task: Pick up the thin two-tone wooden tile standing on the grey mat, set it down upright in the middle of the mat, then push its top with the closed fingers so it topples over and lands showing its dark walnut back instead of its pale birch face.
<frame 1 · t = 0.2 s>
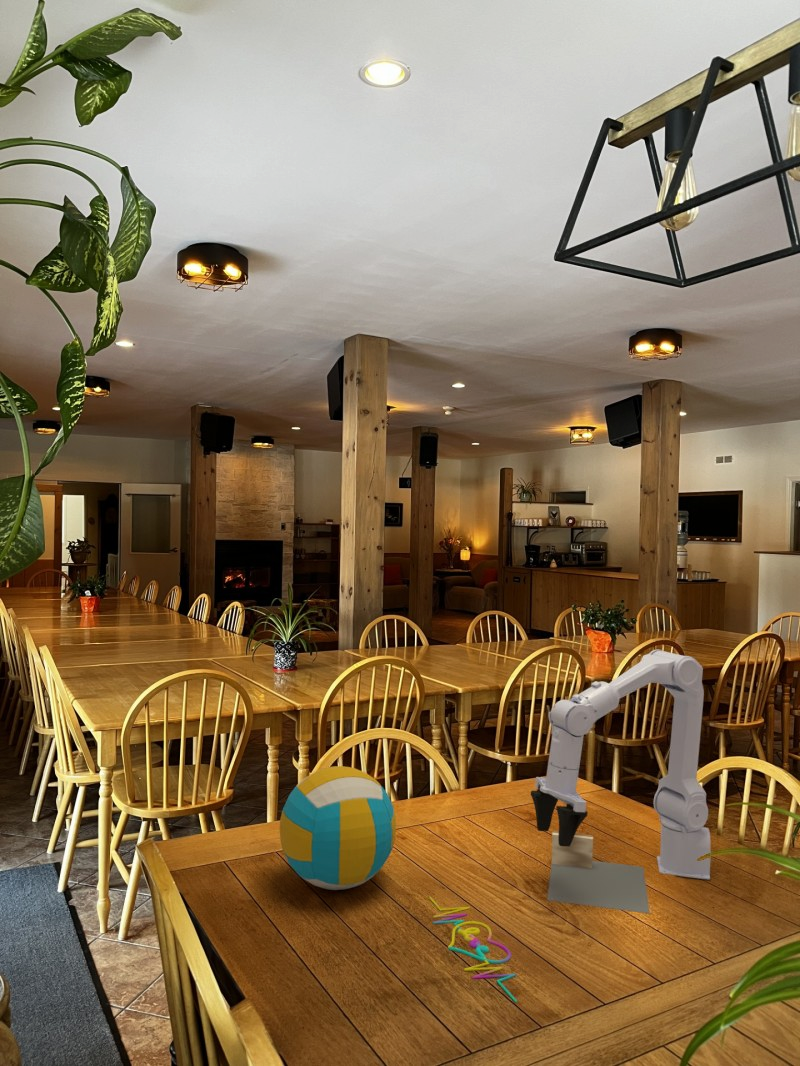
hand: (553, 837, 150), 10 cm above the table, tool pointing down, fingers open, 7 cm apart
tile: (571, 864, 162), resting on mat
mat: (597, 884, 154), on the table
decorative art: (472, 946, 132), on the table
volleyball: (337, 885, 152), on the table
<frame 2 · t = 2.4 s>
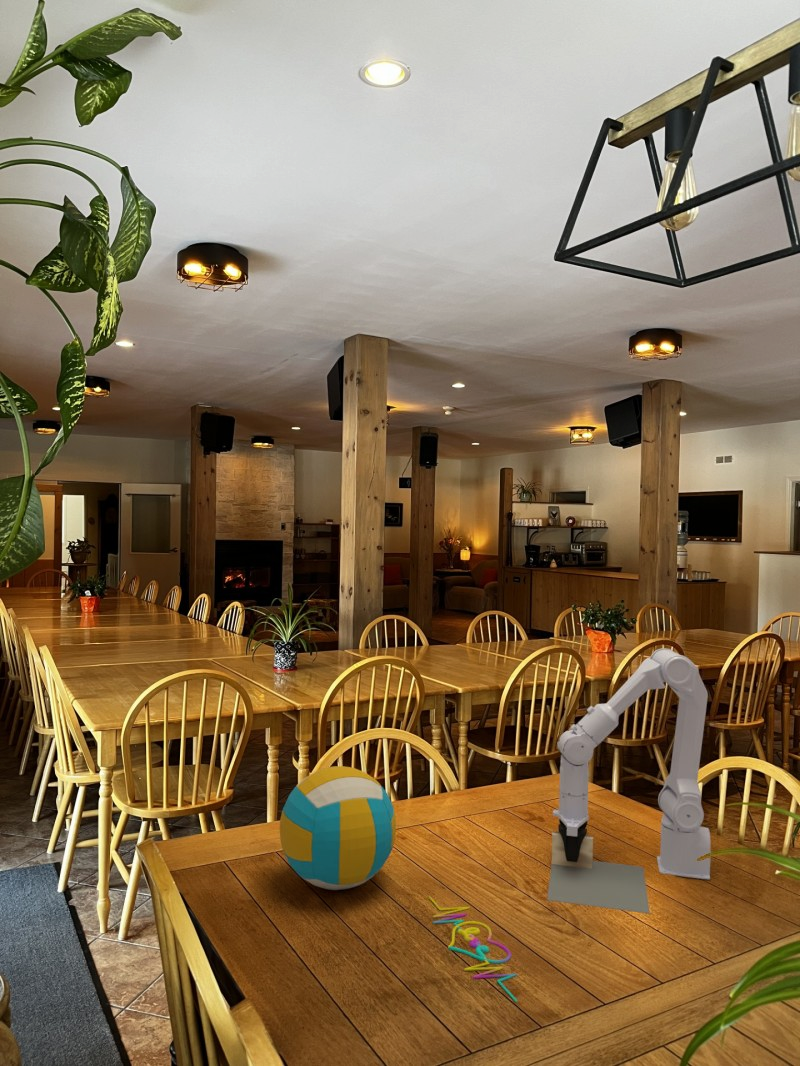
hand: (572, 858, 162), 2 cm above the table, tool pointing down, fingers closed on tile, 2 cm apart
tile: (571, 864, 162), resting on mat, touching gripper
everything else where it was.
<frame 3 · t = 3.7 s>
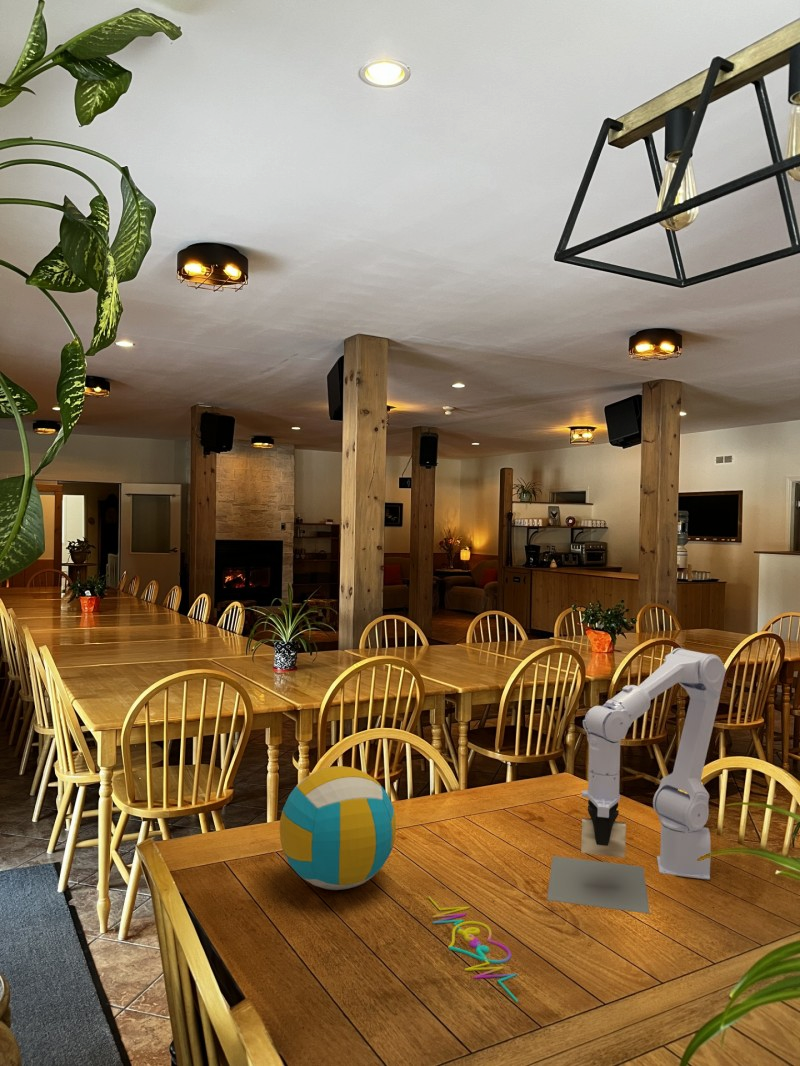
hand: (602, 842, 152), 9 cm above the table, tool pointing down, fingers closed on tile
tile: (602, 853, 152), point 7 cm above the table, touching gripper
everything else where it was.
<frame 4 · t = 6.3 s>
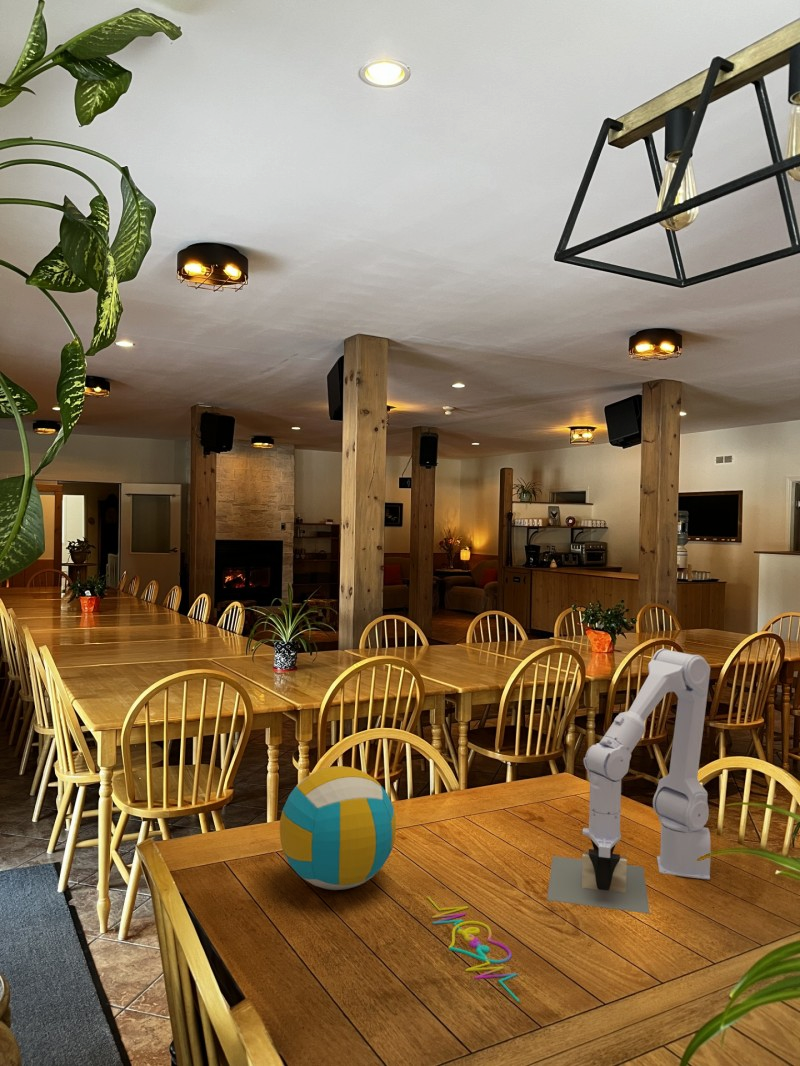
hand: (603, 880, 152), 2 cm above the table, tool pointing down, fingers open, 7 cm apart
tile: (603, 887, 152), resting on mat
everything else where it was.
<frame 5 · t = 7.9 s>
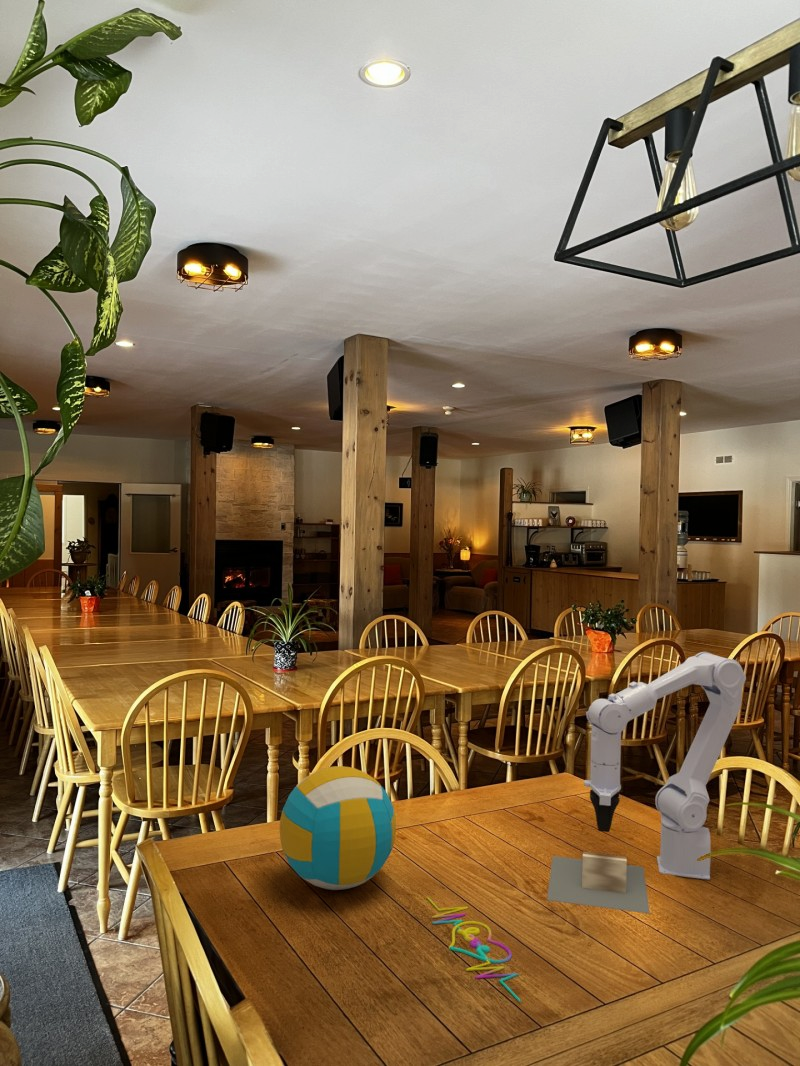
hand: (603, 829, 158), 9 cm above the table, tool pointing down, fingers closed
nothing on the table moved.
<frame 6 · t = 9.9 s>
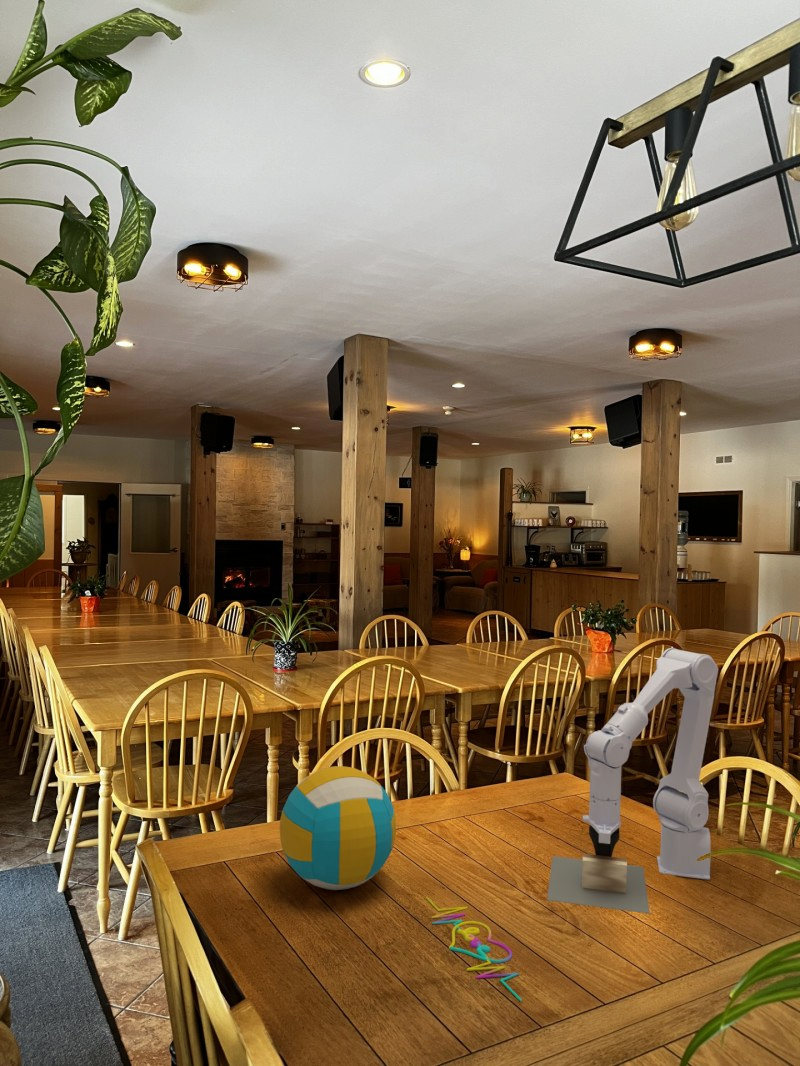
hand: (603, 866, 153), 4 cm above the table, tool pointing down, fingers closed
tile: (603, 886, 152), point 1 cm above the table, tilted 15°, touching mat
everything else where it was.
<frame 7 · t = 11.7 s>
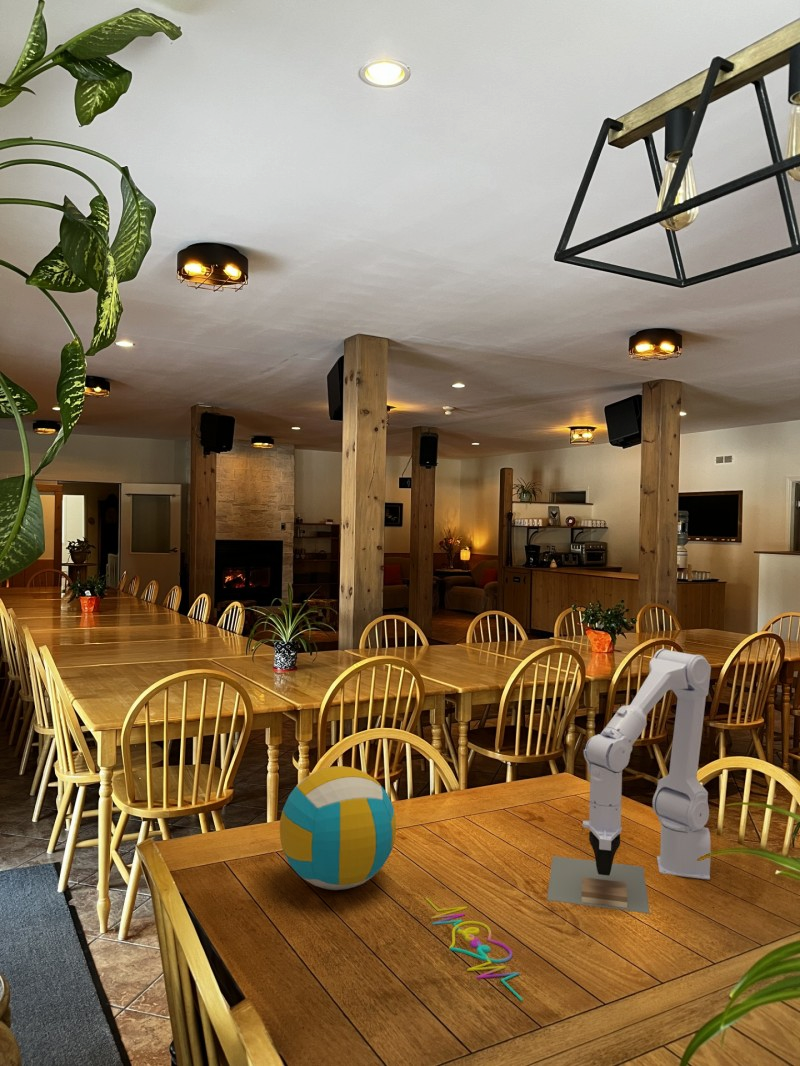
hand: (603, 873, 149), 4 cm above the table, tool pointing down, fingers closed
tile: (603, 885, 151), point 1 cm above the table, tilted 90°, touching mat
everything else where it was.
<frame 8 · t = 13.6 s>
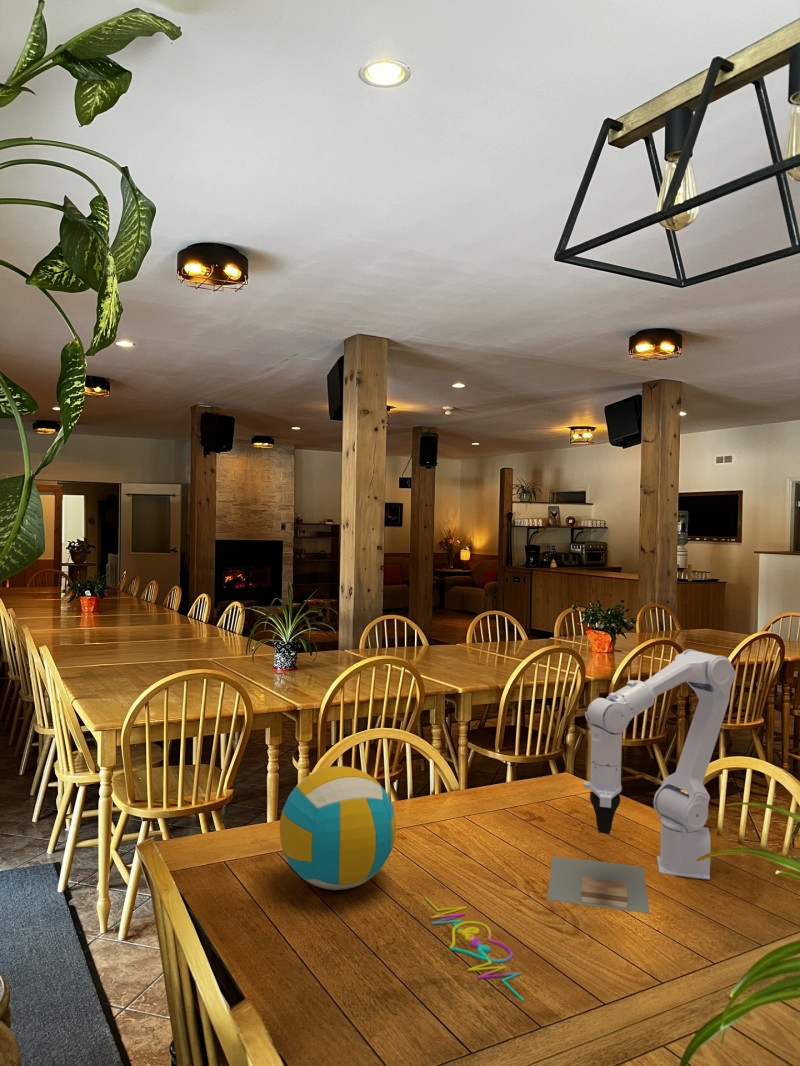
hand: (604, 832, 155), 10 cm above the table, tool pointing down, fingers closed
nothing on the table moved.
at the end: tile tilted 90°; tile inside the target area (1.7 cm from its centre), point 1.4 cm above the table; the gripper is holding nothing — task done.
